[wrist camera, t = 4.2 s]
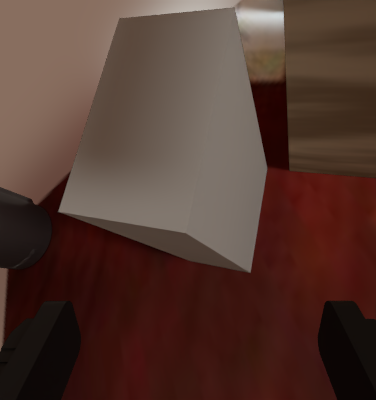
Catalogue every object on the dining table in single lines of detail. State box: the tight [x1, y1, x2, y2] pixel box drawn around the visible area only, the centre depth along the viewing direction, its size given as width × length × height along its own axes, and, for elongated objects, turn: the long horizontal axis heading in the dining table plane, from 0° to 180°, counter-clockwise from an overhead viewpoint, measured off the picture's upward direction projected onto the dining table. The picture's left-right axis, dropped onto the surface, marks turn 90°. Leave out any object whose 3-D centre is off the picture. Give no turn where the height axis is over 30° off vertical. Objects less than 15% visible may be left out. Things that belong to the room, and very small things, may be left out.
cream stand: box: [58, 7, 267, 273], centre depth 26 cm, size 12×7×22 cm, turn 168°
